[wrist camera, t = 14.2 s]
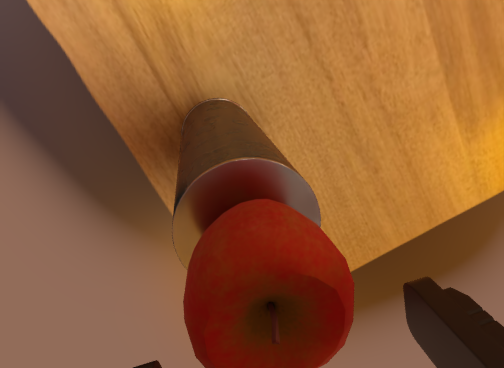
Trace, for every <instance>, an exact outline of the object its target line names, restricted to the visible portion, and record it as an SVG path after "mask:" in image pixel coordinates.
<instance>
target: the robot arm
mask: <svg viewBox="0 0 504 368" xmlns="http://www.w3.org/2000/svg"><path fill="white" fill-rule="evenodd" d="M403 289H404V290H403V291H404V299H405V310H406V319H407V324H408V326H409V329H410V331H411V333H412V335H413V337H414V338H415V340H416V341H417V343H418V344H419V345H420V347H421V348H422V349H423V350H424V352H425V353H426V354H427V356H428V357H429V358H430V359H431V361H432V362H433V363H434V365H435V366H436V367H437V368H504V327H503V326H502V325H501V324H500V323H498V322H497V321H495V320H494V319H493V317H492V316H490V315H489V314H488V313H487V312H486V311H483V309H482V307H480V306H479V305H478V304H477V303H476V302H475V301H474V300H473V299H471V298H470V297H469V296H468V295H465V294H463V293H461V292H459V291H457V290H455V289H453V288H451V287H450V288H447V289H444V290H443V289H441V287H440V286H438V285H437V284H436V283H435V282H434V281H433V280H432V279H431V278H429V277H423V278H420V279H417V280H414V281H410V282H407V283H405V284H404V285H403ZM133 368H162V367H161V365H160V363H159V362H158V361H157V360H156V361H153V362H149V363H146V364H143V365H140V366H137V367H133Z"/></svg>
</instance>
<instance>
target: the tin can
mask: <svg viewBox="0 0 504 368" xmlns="http://www.w3.org/2000/svg"><path fill="white" fill-rule="evenodd" d="M255 199H270V200H273V201H276V202H280V203H283V204H286V205H288V206H290V207H292V208H293V209H295V210H296V211H298V212H299V213H301V214H303V215H304V216H306V217H307V218H309V219H310V220H312V221H313V222H315V223H316V224H317V225H318V226H319V227H321V216H320V208H319V205H318V201H317V199H316V196H315V194H314V192H313V190H312V189H311V187H310V186H309V184H308V183H307V182H306V181H305V180H304V179H303V177H302V176H301V175H300V174H299V173H298V172H297V170H296V169H295V168H294V167H293V166H292V165H291V163H290V162H289V161H288V160H287V159H286V158H285V157H284V155H283V154H282V153H281V152H280V151H279V150H278V148H277V147H276V146H275V145H274V144H273V143H272V142H271V140H270V139H269V138H268V137H267V136H266V135H265V133H264V132H263V131H262V130H261V129H260V128H259V127H258V125H257V124H256V123H255V122H254V121H253V120H252V118H251V117H250V116H249V115H248V113H247V112H246V111H245V110H244V109H243V108H242V107H241V106H240V105H238V104H237V103H235V102H233V101H231V100H228V99H223V98H213V99H208V100H205V101H202V102H200V103H199V104H197V105H196V106H194V107H193V108H192V109H191V110H190V111H189V113H188V114H187V116H186V117H185V120H184V122H183V125H182V130H181V145H180V155H179V164H178V174H177V184H176V194H175V203H174V213H173V223H172V236H173V244H174V247H175V250H176V253H177V255H178V257H179V259H180V261H181V263H182V264H183V266H184V267H185V268H186V269H187V270H188V265H189V262H190V259H191V256H192V253H193V250H194V248H195V246H196V245H197V243H198V241H199V239H200V238H201V236H202V235H203V233H204V232H205V230H206V229H207V228H208V227H209V226H210V225H211V224H212V223H213V222H214V221H215V220H216V219H218V218H219V217H220V216H221V215H222V214H223V213H224V212H226V211H228V210H229V209H231V208H232V207H234V206H236V205H238V204H240V203H242V202H246V201H251V200H255Z"/></svg>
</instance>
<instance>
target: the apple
mask: <svg viewBox="0 0 504 368" xmlns="http://www.w3.org/2000/svg"><path fill="white" fill-rule="evenodd" d="M183 303H184V319H185V324H186V327H187V330H188V334H189V337H190V340H191V343H192V346H193V349H194V353H195V356H196V358H197V359H198V360H199V361H200V362H201V363H202V364H203V366H204V367H205V368H318V367H320V366H322V365H324V364H326V363H327V362H329V360H330V359H331V358H332V357H333V356H334V355H335V354H336V353H337V352H338V351H339V350H340V349H341V348H342V347H343V346H344V344H345V341H346V338H347V336H348V333H349V331H350V328H351V325H352V322H353V311H354V310H353V309H354V308H353V307H354V282H353V279H352V276H351V273H350V270H349V267H348V264H347V261H346V259H345V257H344V256H343V255H342V254H341V253H340V251H339V250H338V249H337V248H336V246H335V245H334V244H333V243H332V241H331V240H330V239H329V238H328V237H327V235H326V234H325V233H324V232H323V231H322V230H321V228H320V227H319V226H318V225H317V224H316V223H315V222H313V221H312V220H310V219H309V218H307V217H306V216H304V215H303V214H301V213H299V212H298V211H296V210H295V209H293V208H292V207H290V206H288V205H286V204H283V203H280V202H276V201H273V200H270V199H255V200H251V201H246V202H242V203H240V204H238V205H236V206H234V207H232V208H231V209H229V210H228V211H226V212H224V213H223V214H222V215H221V216H220V217H219V218H218V219H216V220H215V221H214V222H213V223H212V224H211V225H210V226H209V227H208V228H207V229H206V230H205V232H204V233H203V235H202V236H201V238H200V239H199V241H198V243H197V245H196V246H195V248H194V250H193V253H192V256H191V259H190V262H189V265H188V272H187V279H186V287H185V294H184V301H183Z"/></svg>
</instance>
